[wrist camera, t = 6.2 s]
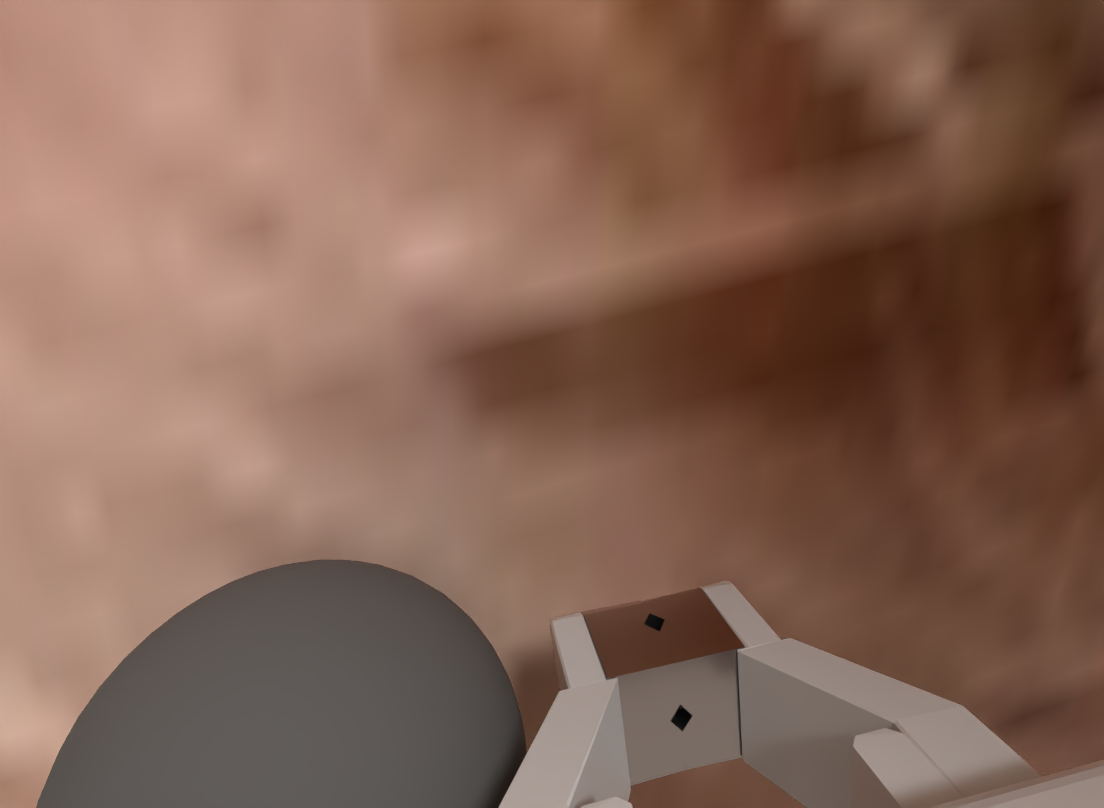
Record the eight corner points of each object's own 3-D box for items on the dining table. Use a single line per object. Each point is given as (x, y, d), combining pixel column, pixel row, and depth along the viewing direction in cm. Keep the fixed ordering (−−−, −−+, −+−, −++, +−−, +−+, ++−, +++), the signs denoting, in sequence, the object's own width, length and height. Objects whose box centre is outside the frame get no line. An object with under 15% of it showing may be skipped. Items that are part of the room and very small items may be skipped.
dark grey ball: (-115, 1109, 3) (-112, 681, 7) (273, 1482, 5) (105, 981, 9) (569, 533, 7) (328, 464, 11) (641, 861, 9) (414, 703, 13)
